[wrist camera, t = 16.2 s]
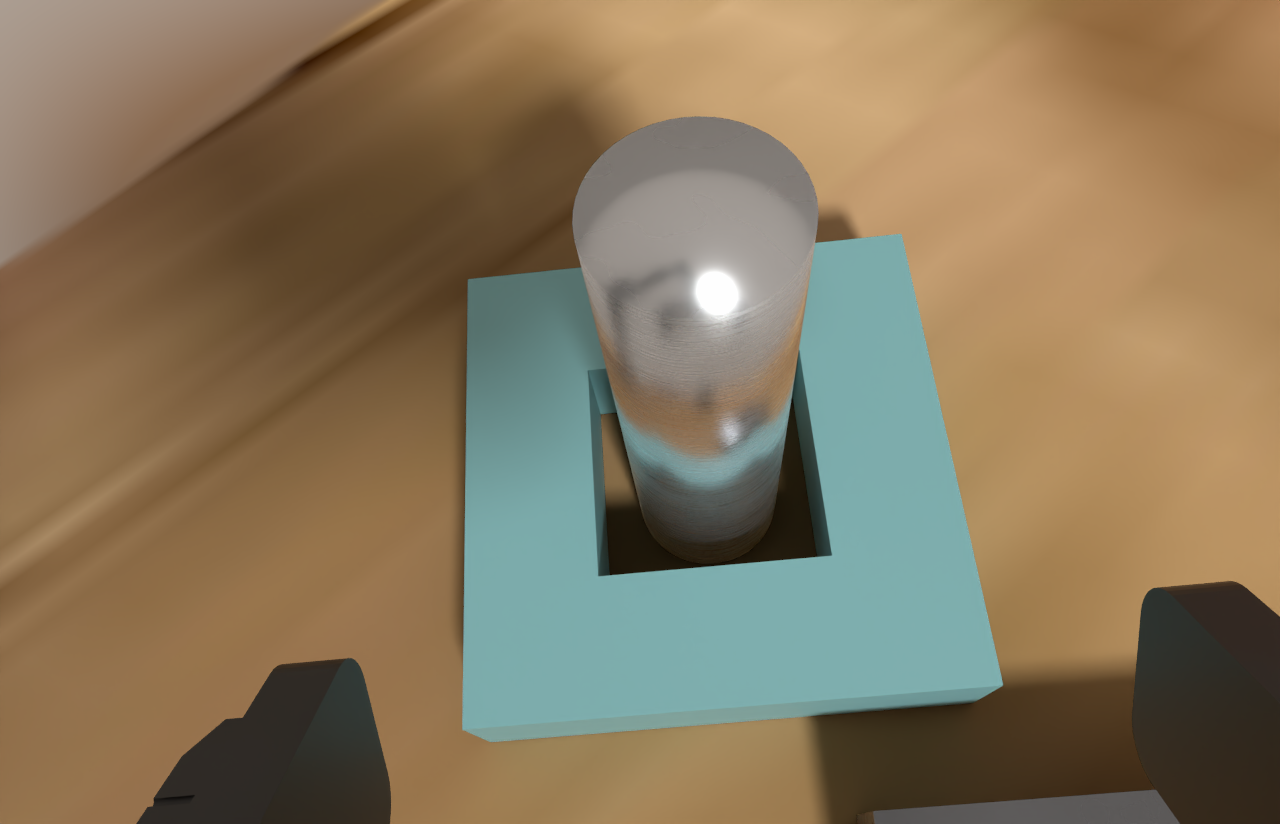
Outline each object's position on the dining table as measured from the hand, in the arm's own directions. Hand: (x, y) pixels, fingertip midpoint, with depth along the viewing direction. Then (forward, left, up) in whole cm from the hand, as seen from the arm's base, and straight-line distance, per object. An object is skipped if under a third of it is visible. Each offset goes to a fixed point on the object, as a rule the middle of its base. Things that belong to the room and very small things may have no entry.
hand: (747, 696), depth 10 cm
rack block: (0, +8, -16) cm, 18 cm away
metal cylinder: (0, +8, -16) cm, 18 cm away
